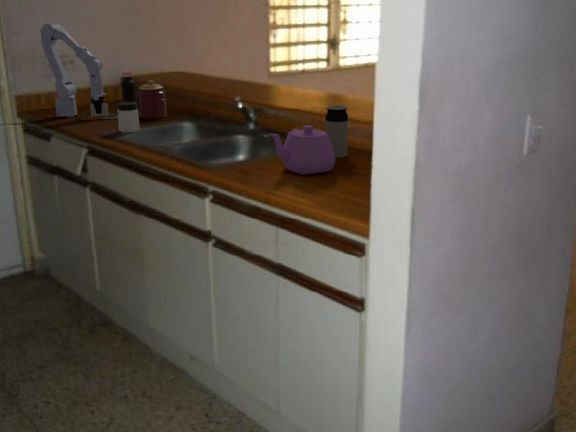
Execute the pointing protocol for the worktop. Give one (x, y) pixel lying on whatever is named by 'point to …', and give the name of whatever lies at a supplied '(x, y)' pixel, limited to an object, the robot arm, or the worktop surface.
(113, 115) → the mat
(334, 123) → the travel mug
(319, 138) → the teapot
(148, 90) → the canister
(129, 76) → the bottle
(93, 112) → the tile
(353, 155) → the worktop surface
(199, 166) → the worktop surface
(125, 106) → the jar
